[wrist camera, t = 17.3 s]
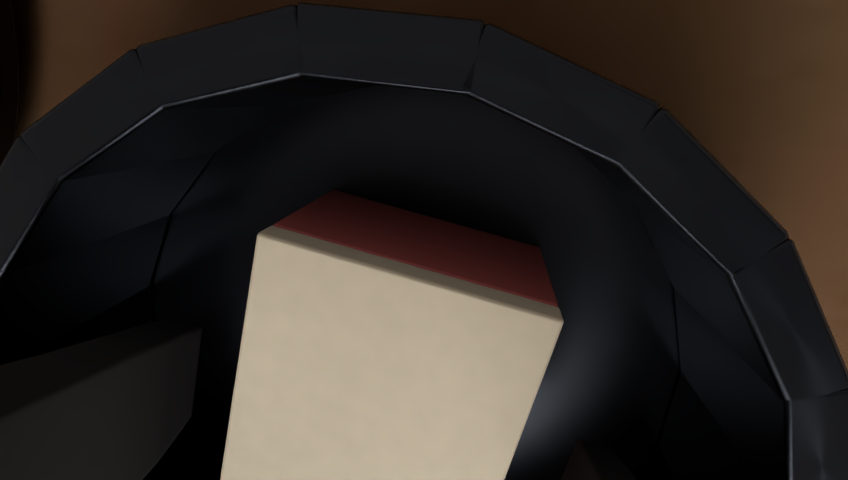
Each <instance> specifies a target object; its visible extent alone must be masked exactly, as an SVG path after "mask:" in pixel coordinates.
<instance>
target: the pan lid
mask: <svg viewBox="0 0 848 480" xmlns="http://www.w3.org/2000/svg"><path fill="white" fill-rule="evenodd" d="M18 104H19V66H18V45H17V38H16V30H15V23H14V16H13V9H12V1H11V0H0V166H1V164H2V162H3V160H4V158H5V157H6V155H7V153H8V151H9V150H10V148H11V146H12V144H13V143H14V141H15V135H16V124H17V114H18Z"/></svg>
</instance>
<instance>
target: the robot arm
mask: <svg viewBox="0 0 848 480" xmlns="http://www.w3.org/2000/svg"><path fill="white" fill-rule="evenodd" d="M201 335H202V326H199V325H195V324H192V323H189V322H185V321H182V320H179V319H175V318H168V319H164V320H159V321H155V322H151V323H148V324H144V325H140V326H137V327H133V328H130V329H127V330H123V331H120V332H116V333H113V334H110V335H106V336H103V337H100V338H96V339H93V340H89V341H86V342H83V343H79V344H76V345H72V346H69V347H66V348H62V349H59V350H55V351H52V352H49V353H45V354H41V355H38V356H34V357H30V358H26V359H22V360H19V361H15V362H11V363H7V364H3V365H0V480H143V478H144V477H145V476H146V475H147V474H148V473H149V472H150V471H151V470H152V468H153V467H154V466H155V465H156V464H157V463H158V461H159V460H160V459H161V457H162V456H163V455H164V453H165V452H166V451H167V449H168V448H169V447H170V445H171V444H172V443H173V441H174V440H175V439H176V437H177V436H178V434H179V433H180V431H181V430H182V429H183V427H184V426H185V424H186V423H187V422H188V420H189V419H190V417H191V416H192V408H193V400H194V392H195V384H196V376H197V367H198V359H199V351H200V343H201ZM560 480H637V479H636V478H635V477H634V476H633V474H632V473H631V472H630V470H629V469H628V468H627V467H626V466H625V464H624V463H623V462H622V461H621V459H620V458H619V457H618V456H617V455H616V454H615V452H614V451H613V450H612V449H611V448H607V447H604V446H601V445H597V444H594V443H591V442H587V441H584V440H580V439H577V442H576V444H575V446H574V449H573V451H572V453H571V456H570V458H569V461H568V463H567V465H566V468H565V470H564V472H563V475H562V477H561V479H560Z"/></svg>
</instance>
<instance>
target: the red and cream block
mask: <svg viewBox="0 0 848 480" xmlns="http://www.w3.org/2000/svg"><path fill="white" fill-rule="evenodd" d="M563 323H564V322H563V317H562V314H561V311H560V309H559V306H558V302H557V299H556V296H555V293H554V290H553V287H552V284H551V281H550V277H549V274H548V271H547V268H546V265H545V262H544V259H543V256H542V253H541V250H540V248H539V247H537V246H533V245H530V244H526V243H522V242H519V241H515V240H512V239H508V238H504V237H501V236H497V235H494V234H490V233H487V232H483V231H479V230H476V229H472V228H469V227H465V226H462V225H458V224H454V223H451V222H447V221H444V220H440V219H436V218H433V217H429V216H426V215H422V214H419V213H415V212H411V211H408V210H404V209H401V208H397V207H393V206H390V205H386V204H383V203H379V202H376V201H372V200H368V199H365V198H361V197H358V196H354V195H351V194H347V193H343V192H340V191H336V190H332V191H330V192H328V193H326V194H325V195H323V196H321V197H320V198H318V199H316V200H314V201H313V202H311V203H309V204H308V205H306V206H304V207H302V208H301V209H299V210H297V211H296V212H294V213H292V214H290V215H289V216H287V217H285V218H284V219H282V220H280V221H278V222H277V223H275V224H274V225H273V226H270V227H268V228H266V229H264V230H263V231H261V232H259V233H258V235H257V240H256V246H255V253H254V260H253V266H252V273H251V279H250V286H249V293H248V299H247V306H246V312H245V319H244V326H243V332H242V339H241V345H240V352H239V358H238V365H237V372H236V378H235V385H234V391H233V398H232V405H231V411H230V418H229V424H228V431H227V438H226V444H225V451H224V457H223V464H222V471H221V477H220V480H504V479H505V477H506V474H507V471H508V469H509V466H510V463H511V461H512V458H513V456H514V453H515V450H516V448H517V445H518V442H519V440H520V437H521V434H522V432H523V429H524V426H525V424H526V421H527V419H528V416H529V413H530V411H531V408H532V405H533V403H534V400H535V397H536V395H537V392H538V389H539V387H540V384H541V382H542V379H543V376H544V374H545V371H546V368H547V366H548V363H549V360H550V358H551V355H552V353H553V350H554V347H555V345H556V342H557V339H558V337H559V334H560V331H561V329H562V326H563Z"/></svg>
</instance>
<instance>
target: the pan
mask: <svg viewBox="0 0 848 480" xmlns="http://www.w3.org/2000/svg"><path fill="white" fill-rule="evenodd" d="M332 190H336V191H340V192H343V193H347V194H351V195H354V196H358V197H361V198H365V199H368V200H372V201H376V202H379V203H383V204H386V205H390V206H393V207H397V208H401V209H404V210H408V211H411V212H415V213H419V214H422V215H426V216H429V217H433V218H436V219H440V220H444V221H447V222H451V223H454V224H458V225H462V226H465V227H469V228H472V229H476V230H479V231H483V232H487V233H490V234H494V235H497V236H501V237H504V238H508V239H512V240H515V241H519V242H522V243H526V244H530V245H533V246H537V247H539V248H540V250H541V253H542V256H543V259H544V262H545V265H546V268H547V271H548V274H549V277H550V281H551V284H552V287H553V290H554V293H555V296H556V299H557V302H558V306H559V309H560V311H561V314H562V317H563V322H564V323H563V326H562V329H561V331H560V334H559V337H558V339H557V342H556V345H555V347H554V350H553V353H552V355H551V358H550V360H549V363H548V366H547V368H546V371H545V374H544V376H543V379H542V382H541V384H540V387H539V389H538V392H537V395H536V397H535V400H534V403H533V405H532V408H531V411H530V413H529V416H528V419H527V421H526V424H525V426H524V429H523V432H522V434H521V437H520V440H519V442H518V445H517V448H516V450H515V453H514V456H513V458H512V461H511V463H510V466H509V469H508V471H507V474H506V477H505V479H504V480H560V479H561V477H562V475H563V472H564V470H565V468H566V465H567V463H568V461H569V458H570V456H571V453H572V451H573V449H574V446H575V444H576V442H577V439H580V440H584V441H587V442H591V443H594V444H597V445H601V446H604V447H607V448H611V449H612V450H613V451H614V452H615V454H616V455H617V456H618V457H619V458H620V459H621V461H622V462H623V463H624V464H625V466H626V467H627V468H628V469H629V470H630V472H631V473H632V474H633V476H634V477H635V478H636V479H637V480H848V370H847V368H846V366H845V363H844V361H843V358H842V356H841V354H840V351H839V349H838V347H837V344H836V342H835V339H834V337H833V335H832V332H831V330H830V327H829V325H828V323H827V320H826V318H825V316H824V313H823V311H822V308H821V306H820V304H819V301H818V299H817V296H816V294H815V292H814V289H813V287H812V284H811V282H810V280H809V277H808V275H807V273H806V270H805V268H804V265H803V263H802V261H801V258H800V256H799V253H798V251H797V249H796V246H795V244H794V242H793V241H792V240H791V239H790V238H788V237H789V236H788V233H787V231H786V230H785V229H784V228H783V227H782V226H781V225H780V224H779V223H778V222H777V220H776V219H775V218H774V217H773V216H772V215H771V214H770V213H769V212H768V211H767V210H766V209H765V208H764V207H763V206H762V205H761V204H760V203H759V202H758V201H757V200H756V199H755V198H754V197H753V196H752V195H751V194H750V193H749V192H748V191H747V190H746V189H745V188H744V187H743V186H742V185H741V184H740V183H739V182H738V181H737V180H736V179H735V178H734V177H733V176H732V175H731V174H730V173H729V172H728V171H727V170H726V169H725V168H724V167H723V166H722V165H721V164H720V163H719V162H718V161H717V160H716V159H715V158H714V157H713V156H712V155H711V154H710V153H709V151H708V150H707V149H706V148H705V147H704V146H703V145H702V144H701V143H700V142H699V141H698V140H697V139H696V138H695V137H694V136H693V135H692V134H691V133H690V132H689V131H688V130H687V129H686V128H685V127H684V126H683V125H682V124H681V123H680V122H679V121H678V120H677V119H676V118H675V117H674V116H673V115H672V114H671V113H670V112H669V111H668V110H667V109H665V108H662V107H659V104H658V103H657V102H656V101H654V100H652V99H650V98H648V97H646V96H644V95H642V94H640V93H637V92H635V91H633V90H631V89H629V88H627V87H625V86H623V85H620V84H618V83H616V82H614V81H612V80H610V79H608V78H606V77H604V76H601V75H599V74H597V73H595V72H593V71H591V70H589V69H587V68H584V67H582V66H580V65H578V64H576V63H574V62H572V61H570V60H568V59H565V58H563V57H561V56H559V55H557V54H555V53H553V52H551V51H548V50H546V49H544V48H542V47H540V46H538V45H536V44H534V43H532V42H529V41H527V40H525V39H523V38H521V37H519V36H517V35H515V34H512V33H510V32H508V31H506V30H504V29H502V28H500V27H498V26H496V25H493V24H489V23H486V24H484V22H483V21H482V20H476V19H466V18H456V17H445V16H435V15H425V14H415V13H405V12H394V11H384V10H374V9H364V8H354V7H343V6H333V5H323V4H313V3H303V2H301V3H298V5H293V4H290V5H287V6H283V7H279V8H275V9H272V10H268V11H264V12H260V13H257V14H253V15H249V16H246V17H242V18H238V19H234V20H231V21H227V22H223V23H219V24H216V25H212V26H208V27H205V28H201V29H197V30H193V31H190V32H186V33H182V34H178V35H175V36H171V37H167V38H164V39H160V40H156V41H152V42H149V43H145V44H141V45H140V46H138V47H137V48H136V49H131V50H129V51H128V52H127V53H125V54H124V55H123V56H121V57H120V58H119V59H117V60H116V61H115V62H114V63H112V64H111V65H110V66H108V67H107V68H106V69H104V70H103V71H102V72H100V73H99V74H98V75H96V76H95V77H94V78H93V79H91V80H90V81H89V82H87V83H86V84H85V85H83V86H82V87H81V88H79V89H78V90H77V91H75V92H74V93H73V94H71V95H70V96H69V97H68V98H66V99H65V100H64V101H62V102H61V103H60V104H58V105H57V106H56V107H54V108H53V109H52V110H50V111H49V112H48V113H47V114H45V115H44V116H43V117H41V118H40V119H39V120H37V121H36V122H35V123H33V124H32V125H31V126H29V127H28V128H27V129H26V130H24V131H23V132H22V133H21V136H20V137H18V138H17V139H15V141H14V143H13V144H12V146H11V148H10V150H9V151H8V153H7V155H6V157H5V158H4V160H3V162H2V164H1V166H0V365H3V364H7V363H11V362H15V361H19V360H22V359H26V358H30V357H34V356H38V355H41V354H45V353H49V352H52V351H55V350H59V349H62V348H66V347H69V346H72V345H76V344H79V343H83V342H86V341H89V340H93V339H96V338H100V337H103V336H106V335H110V334H113V333H116V332H120V331H123V330H127V329H130V328H133V327H137V326H140V325H144V324H148V323H151V322H155V321H159V320H164V319H168V318H175V319H179V320H182V321H185V322H189V323H192V324H195V325H199V326H202V335H201V343H200V351H199V359H198V367H197V376H196V384H195V392H194V400H193V408H192V416H191V417H190V419H189V420H188V422H187V423H186V424H185V426H184V427H183V429H182V430H181V431H180V433H179V434H178V436H177V437H176V439H175V440H174V441H173V443H172V444H171V445H170V447H169V448H168V449H167V451H166V452H165V453H164V455H163V456H162V457H161V459H160V460H159V461H158V463H157V464H156V465H155V466H154V467H153V468H152V470H151V471H150V472H149V473H148V474H147V475H146V476H145V477H144V478H143V480H220V477H221V471H222V464H223V457H224V451H225V444H226V438H227V431H228V424H229V418H230V411H231V405H232V398H233V391H234V385H235V378H236V372H237V365H238V358H239V352H240V345H241V339H242V332H243V326H244V319H245V312H246V306H247V299H248V293H249V286H250V279H251V273H252V266H253V260H254V253H255V246H256V240H257V235H258V233H259V232H261V231H263V230H264V229H266V228H268V227H270V226H273V225H274V224H275V223H277V222H278V221H280V220H282V219H284V218H285V217H287V216H289V215H290V214H292V213H294V212H296V211H297V210H299V209H301V208H302V207H304V206H306V205H308V204H309V203H311V202H313V201H314V200H316V199H318V198H320V197H321V196H323V195H325V194H326V193H328V192H330V191H332Z"/></svg>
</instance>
